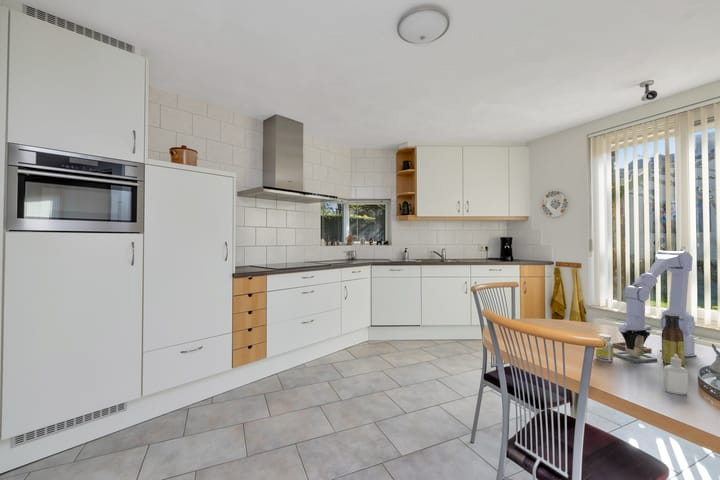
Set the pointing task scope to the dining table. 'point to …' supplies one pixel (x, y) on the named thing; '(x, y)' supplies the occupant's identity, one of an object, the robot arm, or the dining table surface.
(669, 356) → the sauce bottle
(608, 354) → the supplement bottle
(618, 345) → the holder
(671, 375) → the eye dropper bottle
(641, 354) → the peg
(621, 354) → the tray
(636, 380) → the dining table surface
